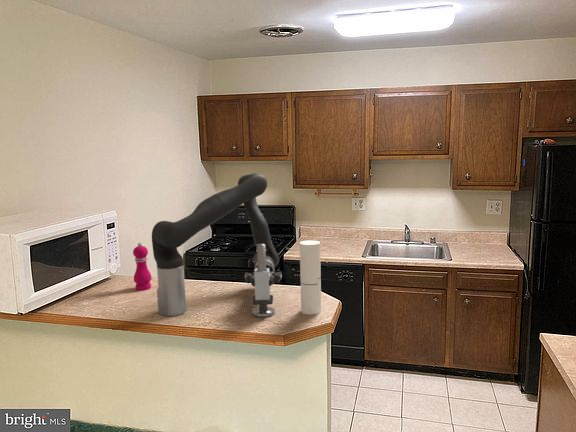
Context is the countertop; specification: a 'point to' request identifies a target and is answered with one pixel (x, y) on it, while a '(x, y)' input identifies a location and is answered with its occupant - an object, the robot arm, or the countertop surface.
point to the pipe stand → (261, 263)
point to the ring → (263, 301)
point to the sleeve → (262, 285)
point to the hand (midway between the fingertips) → (262, 283)
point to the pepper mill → (141, 268)
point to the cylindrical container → (310, 277)
